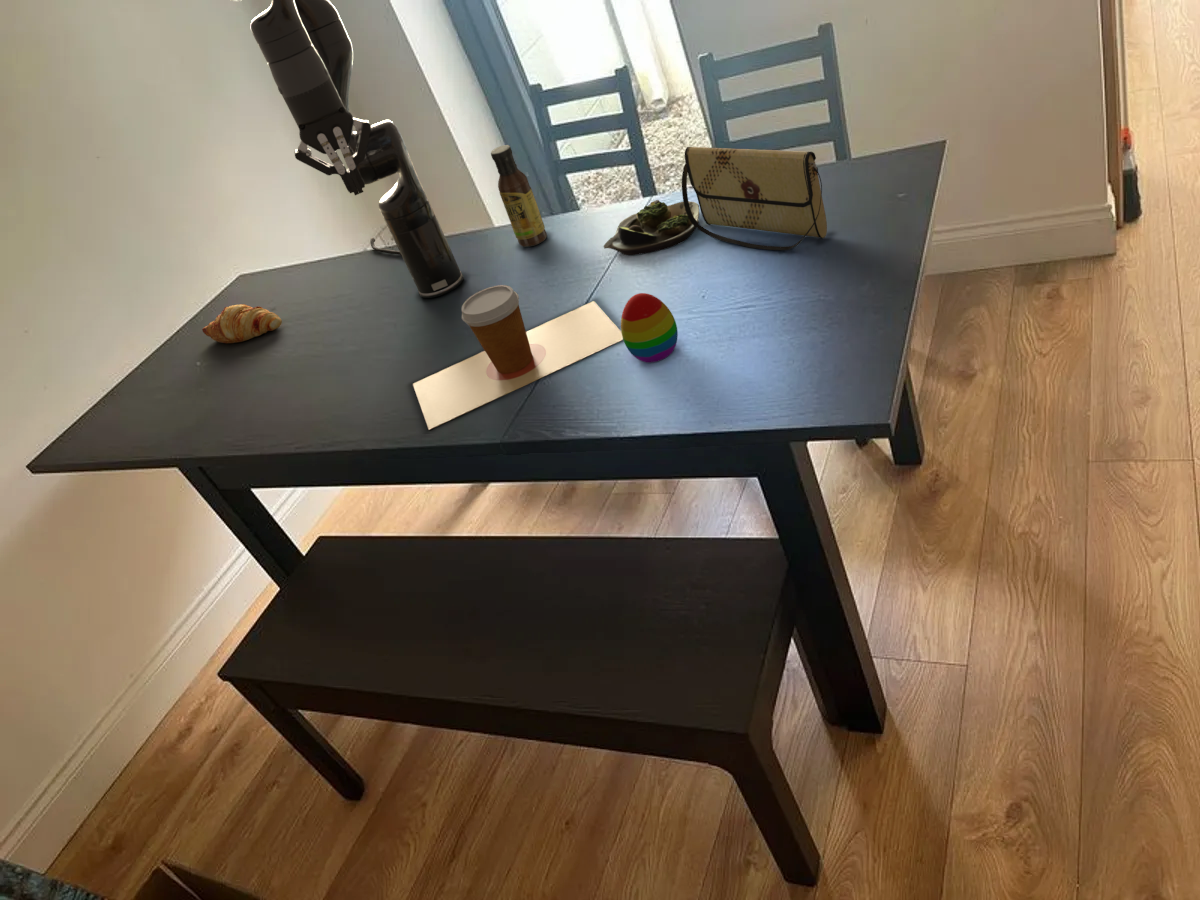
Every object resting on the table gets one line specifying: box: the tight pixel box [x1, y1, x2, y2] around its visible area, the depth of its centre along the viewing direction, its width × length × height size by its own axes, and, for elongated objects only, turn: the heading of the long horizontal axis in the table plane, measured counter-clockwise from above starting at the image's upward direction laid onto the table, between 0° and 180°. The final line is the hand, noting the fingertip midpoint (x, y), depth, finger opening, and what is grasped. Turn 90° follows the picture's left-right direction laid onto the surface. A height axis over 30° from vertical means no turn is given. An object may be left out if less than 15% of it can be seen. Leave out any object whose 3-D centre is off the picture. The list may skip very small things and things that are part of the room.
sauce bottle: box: [490, 144, 548, 248], centre depth 187 cm, size 6×6×20 cm
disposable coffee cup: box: [461, 284, 533, 374], centre depth 150 cm, size 10×10×12 cm
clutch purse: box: [681, 146, 828, 251], centre depth 158 cm, size 30×7×15 cm, turn 43°
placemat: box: [412, 300, 624, 431], centre depth 154 cm, size 17×34×1 cm, turn 109°
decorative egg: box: [620, 292, 679, 364], centre depth 139 cm, size 8×8×10 cm
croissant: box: [201, 303, 283, 344], centre depth 201 cm, size 21×10×8 cm, turn 74°
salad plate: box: [603, 199, 700, 256], centre depth 177 cm, size 19×18×5 cm
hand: (358, 192), depth 148 cm, fingers closed
